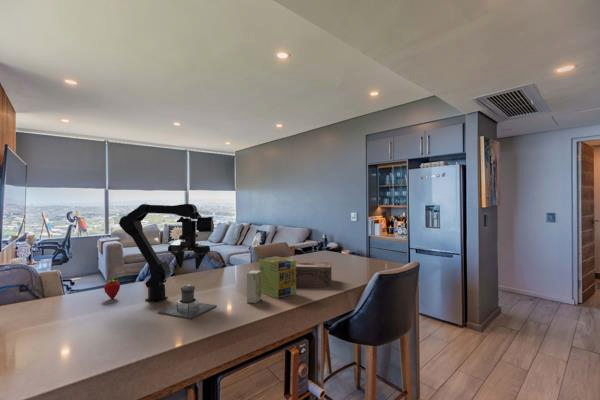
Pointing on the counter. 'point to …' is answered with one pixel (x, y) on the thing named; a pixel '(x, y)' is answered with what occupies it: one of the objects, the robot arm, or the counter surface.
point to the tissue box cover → (313, 274)
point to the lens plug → (187, 294)
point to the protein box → (278, 276)
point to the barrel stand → (187, 309)
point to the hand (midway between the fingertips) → (188, 268)
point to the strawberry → (112, 288)
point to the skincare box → (253, 286)
